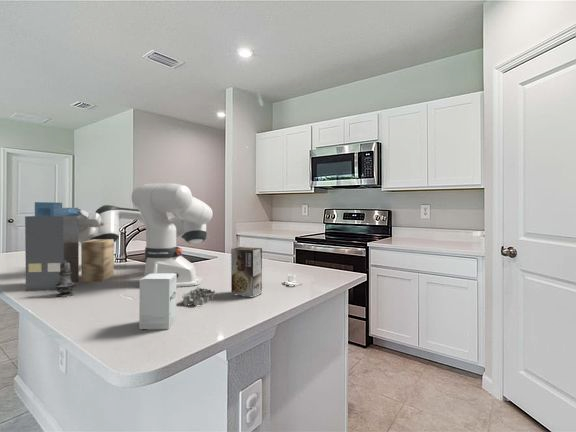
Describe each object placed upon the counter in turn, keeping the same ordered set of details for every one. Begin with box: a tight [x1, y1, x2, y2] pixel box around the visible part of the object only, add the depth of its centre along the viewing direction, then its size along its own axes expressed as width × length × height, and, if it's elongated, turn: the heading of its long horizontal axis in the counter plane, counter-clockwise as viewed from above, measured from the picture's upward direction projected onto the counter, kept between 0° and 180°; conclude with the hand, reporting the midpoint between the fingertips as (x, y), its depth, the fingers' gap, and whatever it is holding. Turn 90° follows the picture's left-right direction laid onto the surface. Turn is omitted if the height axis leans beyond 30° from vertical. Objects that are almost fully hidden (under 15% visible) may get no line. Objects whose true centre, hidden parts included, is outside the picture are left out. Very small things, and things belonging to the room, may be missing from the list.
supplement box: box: [138, 273, 177, 330], centre depth 84 cm, size 7×7×13 cm
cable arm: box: [34, 201, 79, 217], centre depth 126 cm, size 6×22×5 cm, turn 11°
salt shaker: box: [55, 260, 77, 298], centre depth 110 cm, size 6×6×12 cm
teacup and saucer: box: [286, 273, 297, 286], centre depth 130 cm, size 9×8×4 cm
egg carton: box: [181, 286, 216, 307], centre depth 105 cm, size 10×7×4 cm
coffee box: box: [230, 246, 263, 297], centre depth 114 cm, size 9×6×16 cm
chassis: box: [24, 215, 80, 292], centre depth 121 cm, size 12×12×26 cm
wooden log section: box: [80, 239, 115, 283], centre depth 135 cm, size 8×12×16 cm, turn 11°
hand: (66, 210), depth 131 cm, fingers open, 8 cm apart
